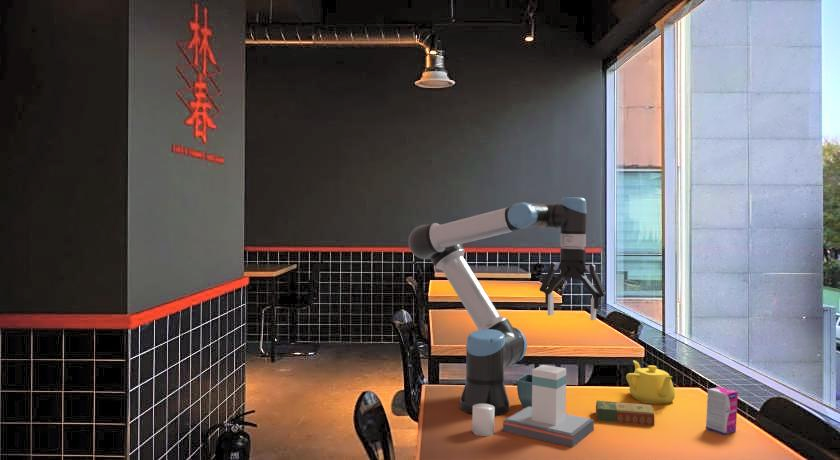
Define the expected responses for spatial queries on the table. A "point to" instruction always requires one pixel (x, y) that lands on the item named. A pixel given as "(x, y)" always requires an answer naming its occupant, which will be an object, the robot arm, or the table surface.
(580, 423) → the podium
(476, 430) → the white rounded capsule
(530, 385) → the flower pot
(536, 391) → the carton
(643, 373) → the teapot
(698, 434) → the table surface
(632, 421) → the carton
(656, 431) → the table surface
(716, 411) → the supplement box
